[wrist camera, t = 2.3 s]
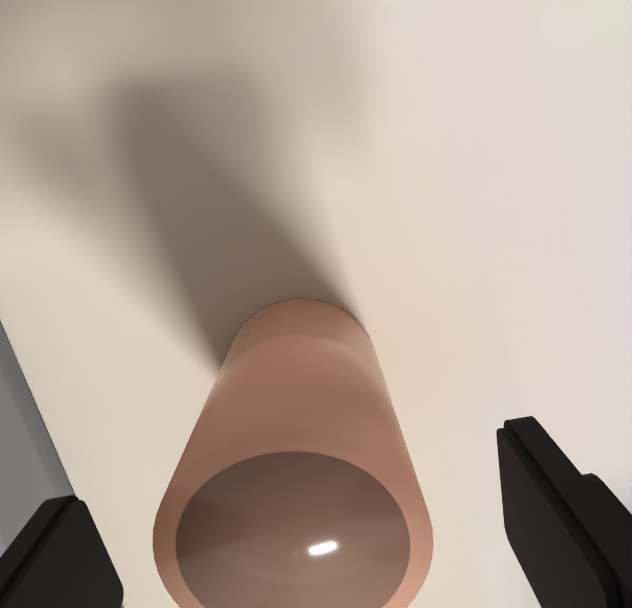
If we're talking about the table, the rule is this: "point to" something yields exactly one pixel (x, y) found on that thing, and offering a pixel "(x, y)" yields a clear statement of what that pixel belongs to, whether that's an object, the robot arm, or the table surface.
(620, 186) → the table surface
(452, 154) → the table surface
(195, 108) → the table surface
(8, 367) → the tray
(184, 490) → the cup
